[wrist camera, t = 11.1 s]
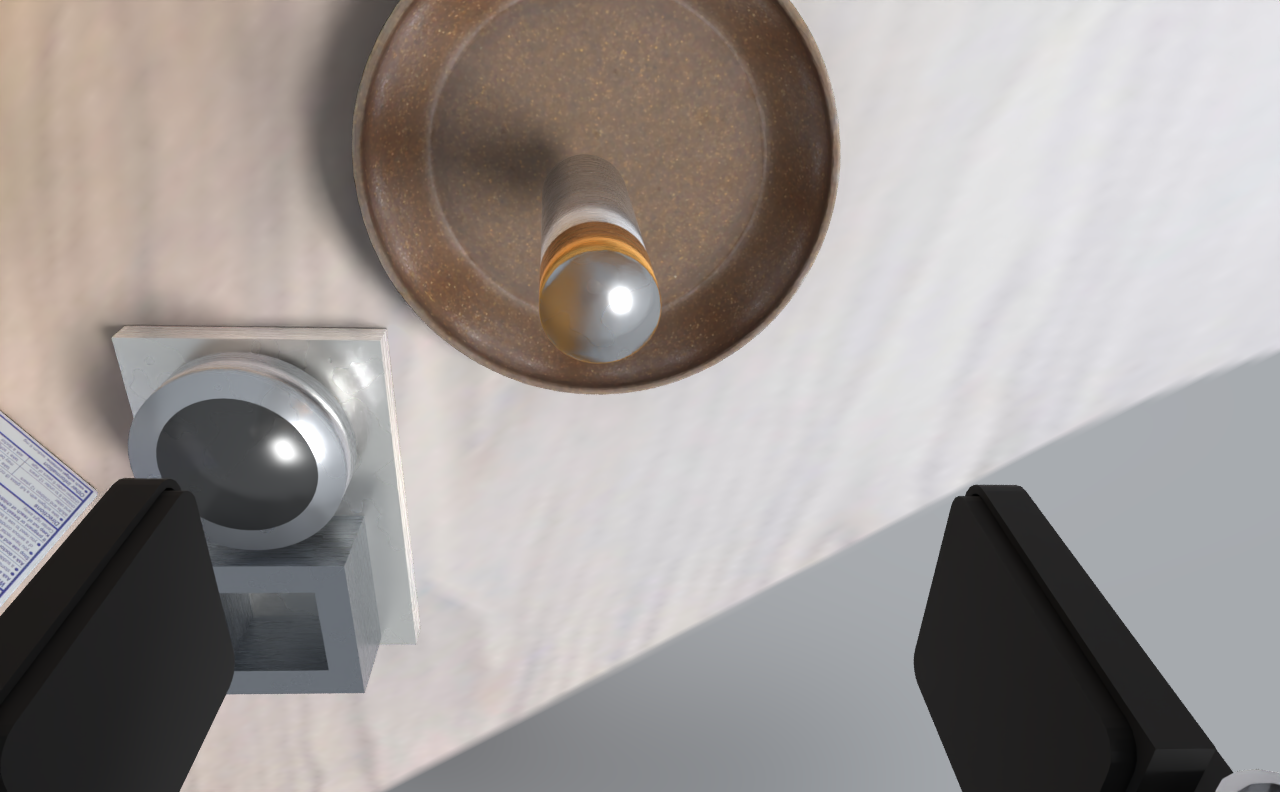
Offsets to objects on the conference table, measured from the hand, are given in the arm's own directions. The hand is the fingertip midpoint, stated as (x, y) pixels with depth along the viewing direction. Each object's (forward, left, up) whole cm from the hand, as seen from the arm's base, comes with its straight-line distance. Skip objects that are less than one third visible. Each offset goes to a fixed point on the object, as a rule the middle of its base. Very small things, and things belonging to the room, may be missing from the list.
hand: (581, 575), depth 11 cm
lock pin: (0, 0, -18) cm, 18 cm away
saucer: (0, 0, -21) cm, 21 cm away
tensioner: (+13, -12, -20) cm, 27 cm away
